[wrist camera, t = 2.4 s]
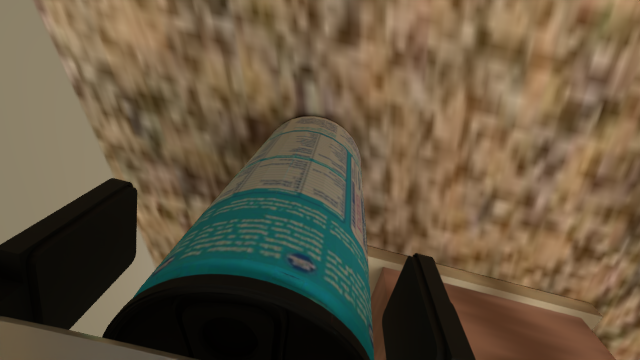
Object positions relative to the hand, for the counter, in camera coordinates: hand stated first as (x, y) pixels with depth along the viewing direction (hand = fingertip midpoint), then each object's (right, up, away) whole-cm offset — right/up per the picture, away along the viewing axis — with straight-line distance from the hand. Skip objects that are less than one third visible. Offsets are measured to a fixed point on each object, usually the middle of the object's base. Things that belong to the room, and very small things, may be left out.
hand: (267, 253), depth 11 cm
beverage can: (+1, +4, +10) cm, 10 cm away
